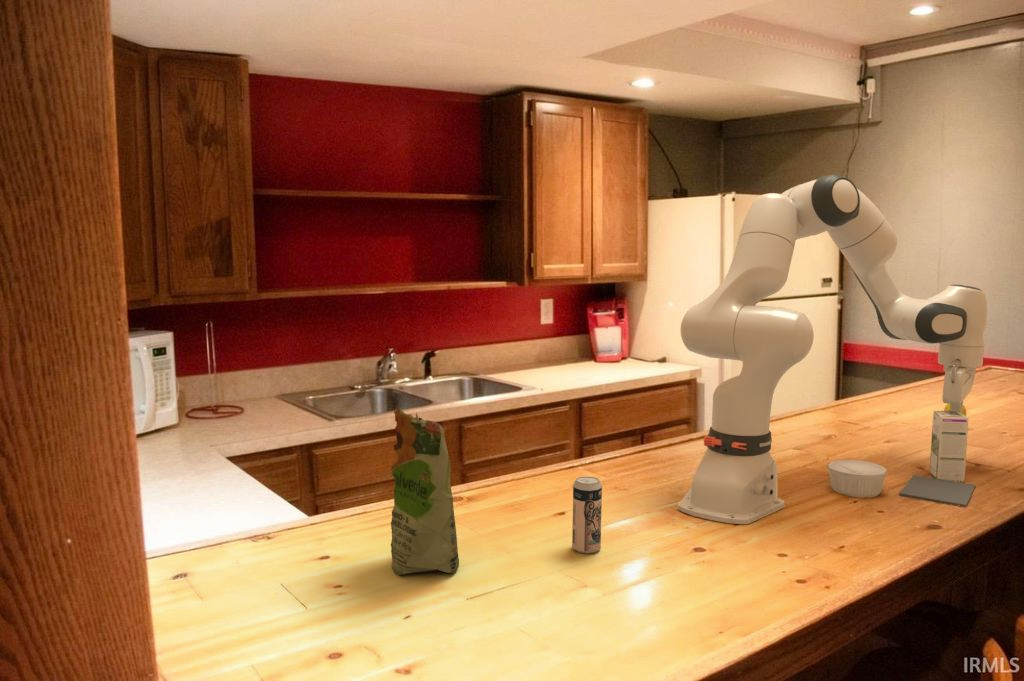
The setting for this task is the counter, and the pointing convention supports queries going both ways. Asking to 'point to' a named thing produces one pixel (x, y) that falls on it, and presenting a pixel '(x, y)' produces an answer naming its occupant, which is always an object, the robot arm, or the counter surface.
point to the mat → (938, 490)
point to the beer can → (587, 515)
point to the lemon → (950, 409)
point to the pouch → (422, 499)
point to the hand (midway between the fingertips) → (955, 417)
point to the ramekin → (856, 478)
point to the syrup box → (949, 445)
